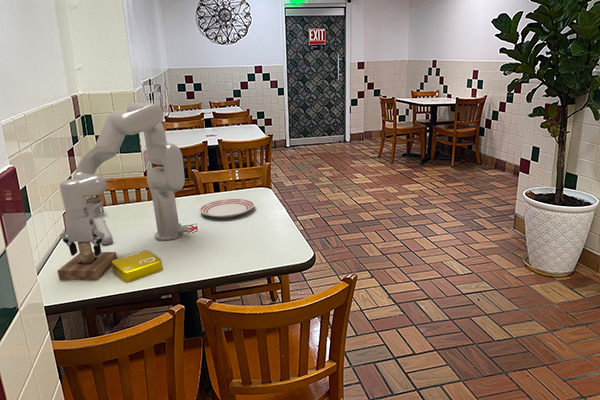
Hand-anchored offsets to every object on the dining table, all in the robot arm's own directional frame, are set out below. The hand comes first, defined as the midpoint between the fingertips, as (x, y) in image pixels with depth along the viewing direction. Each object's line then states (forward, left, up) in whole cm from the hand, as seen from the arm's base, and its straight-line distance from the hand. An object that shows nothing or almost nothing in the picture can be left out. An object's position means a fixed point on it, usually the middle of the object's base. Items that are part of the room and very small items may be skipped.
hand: (86, 254), depth 179 cm
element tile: (-19, -1, -7) cm, 21 cm away
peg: (0, 0, -7) cm, 7 cm away
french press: (+29, -59, -7) cm, 66 cm away
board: (0, 0, -7) cm, 7 cm away
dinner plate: (-38, -64, -7) cm, 75 cm away
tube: (+12, -33, -7) cm, 36 cm away
